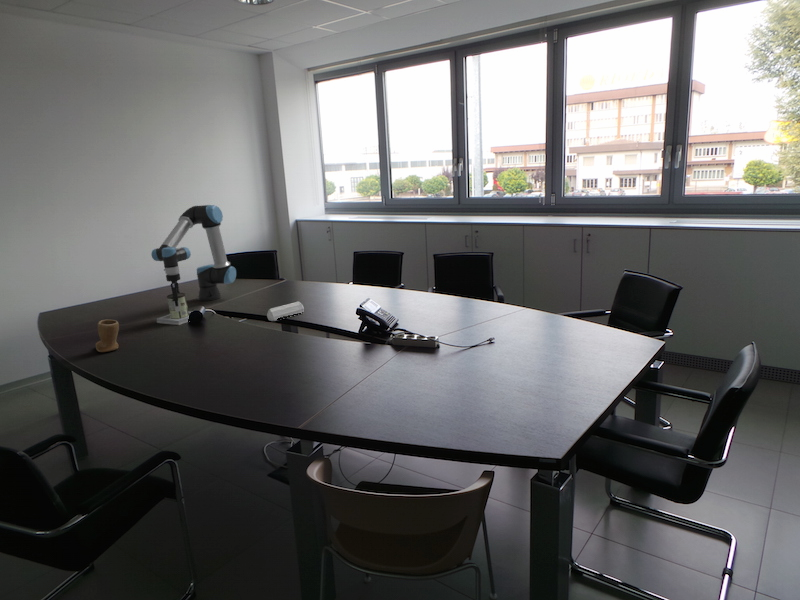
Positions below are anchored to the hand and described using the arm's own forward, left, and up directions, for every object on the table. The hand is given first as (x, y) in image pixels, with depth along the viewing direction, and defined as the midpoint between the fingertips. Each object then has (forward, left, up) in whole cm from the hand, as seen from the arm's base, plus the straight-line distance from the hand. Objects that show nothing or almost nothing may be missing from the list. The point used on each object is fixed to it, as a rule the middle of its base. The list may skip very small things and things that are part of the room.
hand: (178, 308), depth 312 cm
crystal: (-22, +61, -7) cm, 66 cm away
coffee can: (0, 0, -6) cm, 6 cm away
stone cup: (+52, +7, -7) cm, 53 cm away
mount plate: (0, 0, -7) cm, 7 cm away
